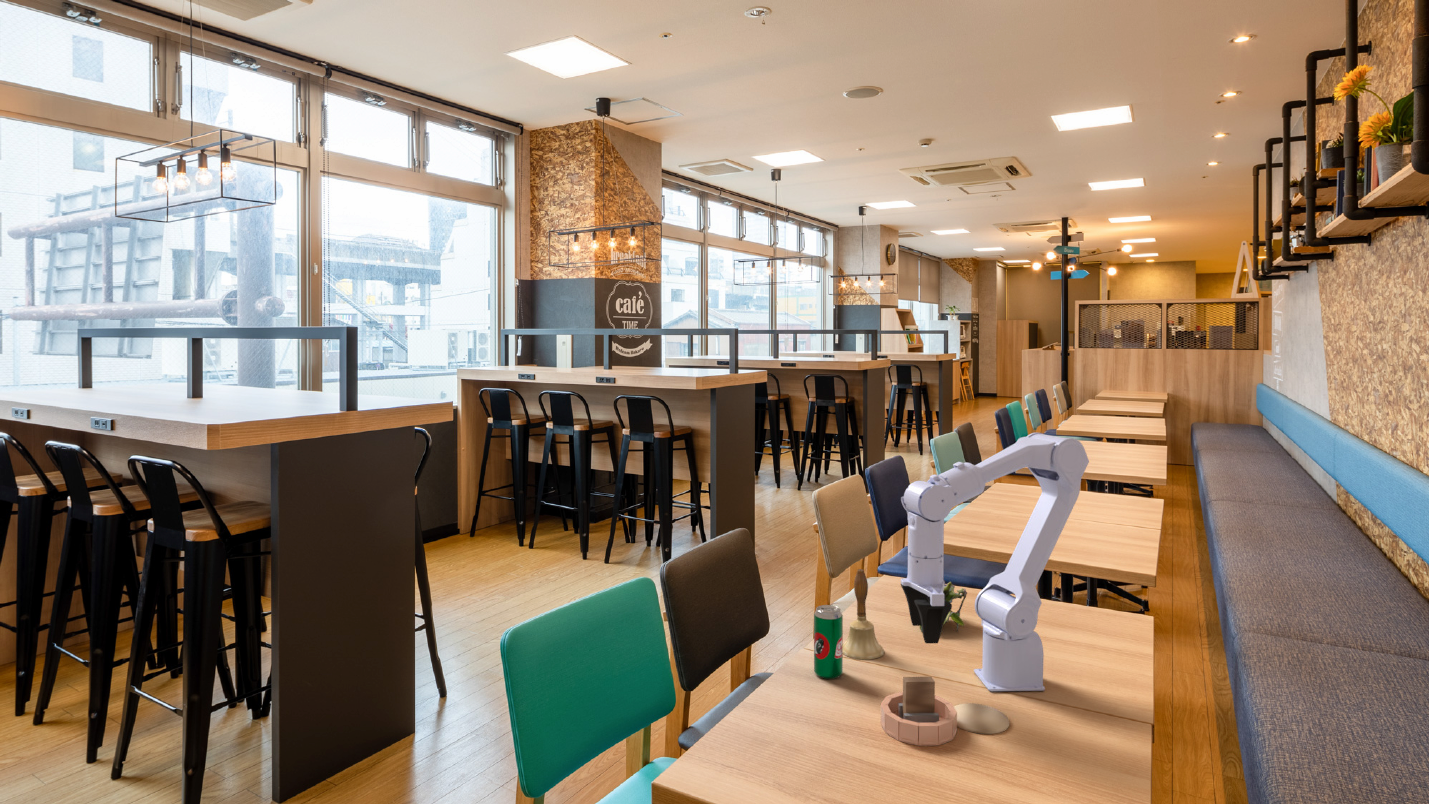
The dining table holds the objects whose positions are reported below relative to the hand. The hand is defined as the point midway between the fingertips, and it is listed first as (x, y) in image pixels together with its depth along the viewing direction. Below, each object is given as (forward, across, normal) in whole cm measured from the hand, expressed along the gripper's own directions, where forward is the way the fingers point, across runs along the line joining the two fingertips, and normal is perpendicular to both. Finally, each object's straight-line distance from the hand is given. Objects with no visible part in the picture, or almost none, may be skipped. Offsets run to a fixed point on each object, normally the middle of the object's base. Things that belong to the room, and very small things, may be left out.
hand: (924, 633), depth 128 cm
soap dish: (+10, +11, -4) cm, 16 cm away
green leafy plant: (+11, -30, +12) cm, 34 cm away
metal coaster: (+10, +9, +6) cm, 15 cm away
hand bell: (+11, -18, -7) cm, 22 cm away
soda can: (+11, -8, -15) cm, 20 cm away
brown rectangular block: (+10, +11, -4) cm, 15 cm away
